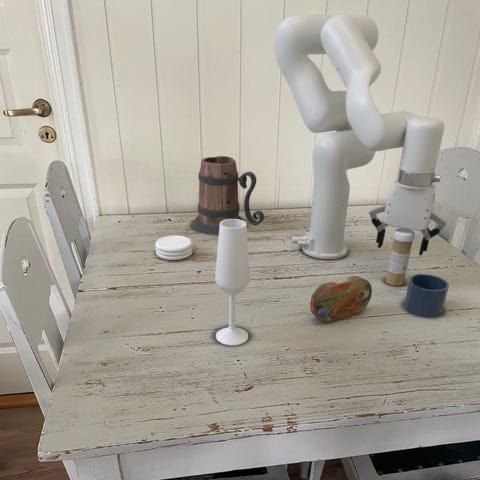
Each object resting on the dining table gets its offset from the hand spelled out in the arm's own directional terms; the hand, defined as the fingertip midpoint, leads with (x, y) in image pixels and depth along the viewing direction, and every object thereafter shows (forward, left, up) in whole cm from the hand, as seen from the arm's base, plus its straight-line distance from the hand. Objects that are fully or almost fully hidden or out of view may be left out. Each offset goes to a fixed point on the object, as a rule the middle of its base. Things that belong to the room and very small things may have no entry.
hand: (400, 249), depth 117 cm
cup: (+2, -13, -9) cm, 16 cm away
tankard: (-39, +40, -9) cm, 57 cm away
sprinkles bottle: (0, 0, -9) cm, 9 cm away
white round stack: (-55, +20, -9) cm, 59 cm away
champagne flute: (-42, -22, -9) cm, 48 cm away
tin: (-18, -15, -9) cm, 25 cm away
